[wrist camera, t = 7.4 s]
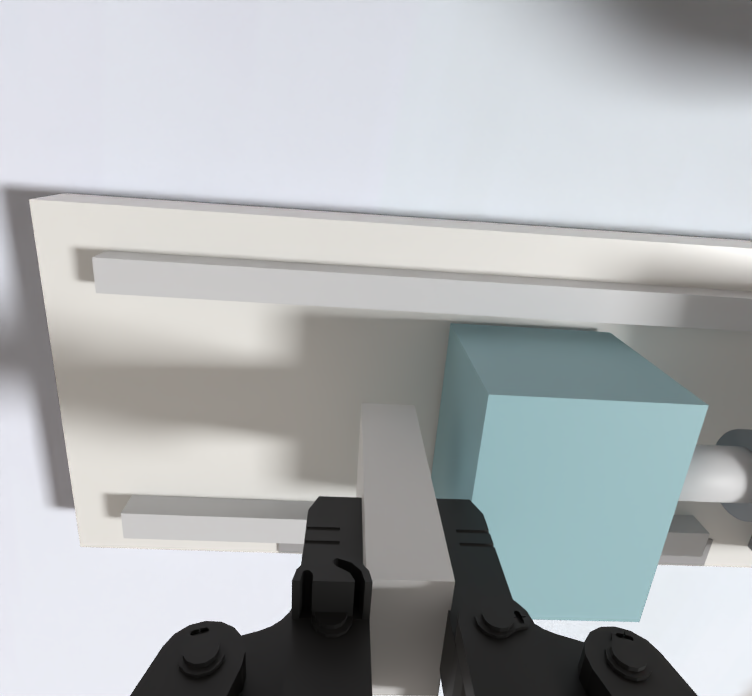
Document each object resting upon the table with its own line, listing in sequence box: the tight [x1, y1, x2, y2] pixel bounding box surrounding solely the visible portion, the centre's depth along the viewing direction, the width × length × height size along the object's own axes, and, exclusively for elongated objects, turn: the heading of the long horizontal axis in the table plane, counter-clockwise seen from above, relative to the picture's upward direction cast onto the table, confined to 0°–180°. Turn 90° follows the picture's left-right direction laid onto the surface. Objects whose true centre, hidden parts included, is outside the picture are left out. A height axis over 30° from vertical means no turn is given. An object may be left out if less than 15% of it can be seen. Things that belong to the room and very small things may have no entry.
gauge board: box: [29, 193, 752, 568], centre depth 15 cm, size 12×29×10 cm, turn 86°
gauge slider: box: [431, 323, 752, 622], centre depth 16 cm, size 9×9×5 cm
